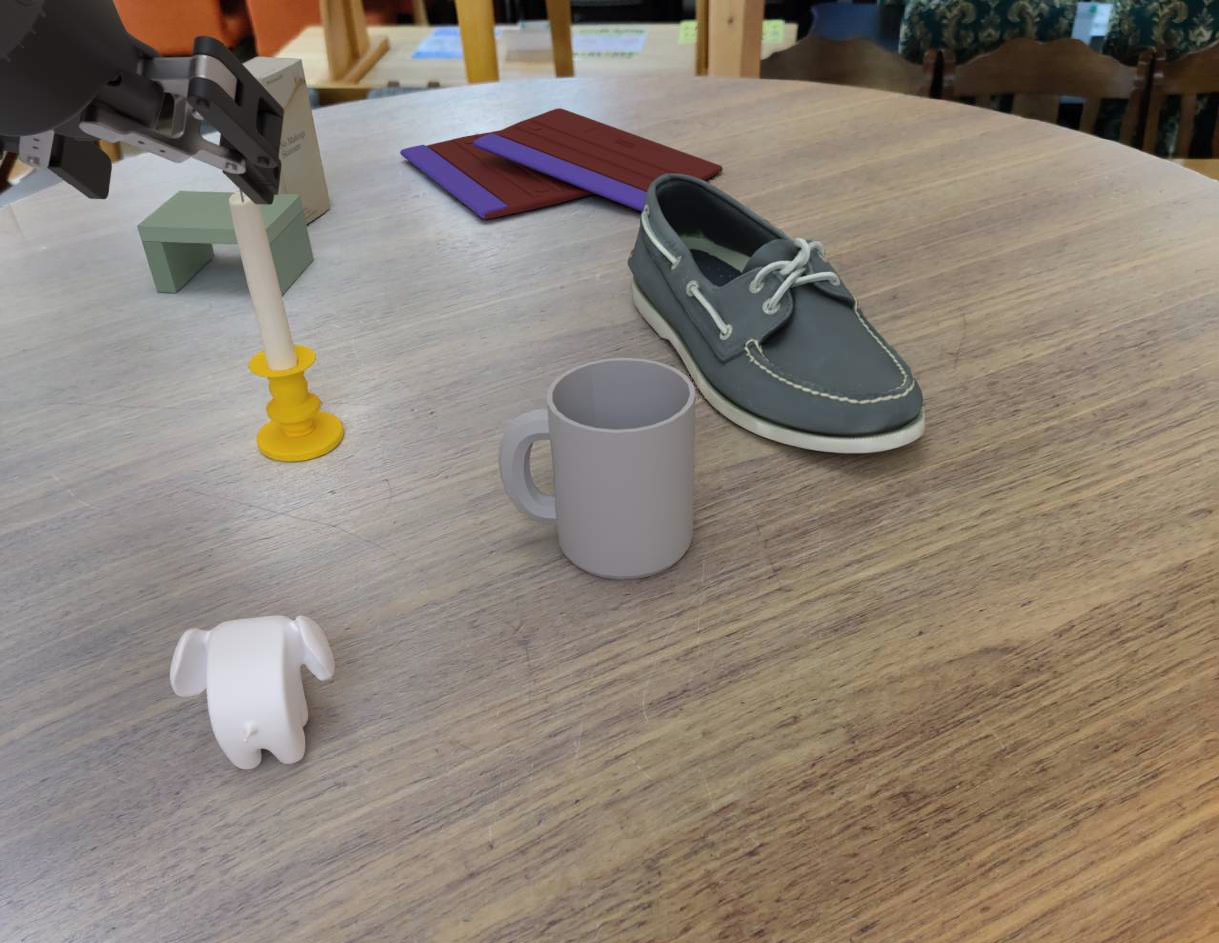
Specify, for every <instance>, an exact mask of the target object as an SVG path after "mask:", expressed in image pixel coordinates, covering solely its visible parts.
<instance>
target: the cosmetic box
mask: <svg viewBox="0 0 1219 943" xmlns="http://www.w3.org/2000/svg"><path fill="white" fill-rule="evenodd" d="M242 64H243V65H244V66H245V67H246V68H247V70H248V71H249V72H250V73H251V74H252V75H253V76H254V77H255V78H256V79H257V80H258V81H259V82H260V84H261V85H262V86H263V87H264V88H265V89H266V90H267V91H268V92H269V93H270V94H271V95H272V97H273V98H274V99H275V100H276V101H277V102H278V103H279V104H280V105H281V106H282V107H283V109H284V117H283V125H282V134H281V142H280V151H279V159H280V160H281V165H282V167H281V175H280V184H279V192H278V194H299V195H300V196H301V201H302V206H303V210H304V215H305V220H306V225H309V224H310V223H311V222H313V221H314V220H316V219H317V218H318V217H320V216H322V215H323V214H325V213H326V212H328V211H329V210H330V209H331V200H330V197H329V192H328V186H327V182H326V177H325V170H324V167H323V161H322V156H321V151H320V145H319V142H318V136H317V131H316V126H315V121H314V116H313V110H312V105H311V100H310V96H309V95H310V94H309V91H308V86H307V81H306V76H305V70H304V66H303V59H302V58H298V57H297V58H295V57H294V58H293V57H292V58H291V57H274V56H272V57H271V56H255V57H253V58H251V59H248V60H247V61H245V62H242Z"/></svg>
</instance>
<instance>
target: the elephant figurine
mask: <svg viewBox="0 0 1219 943" xmlns="http://www.w3.org/2000/svg"><path fill="white" fill-rule="evenodd" d="M335 662H336V661H335V658H334V654H333V651H332V648H331V646H330V643H329V641H328V639H327V636H326V634H325V633H324V631H323V629H322V628H321V626H319V624H318V623H317V622H315V621H314V620H313V619H311V618H310V617H308V616H305V615H298V616H297V615H296V617H295V619H292V618H289V617H288V616H286V615H281V614H275V615H265V616H256V617H249V618H238V619H232V620H227V621H226V620H225V621H222V622H220V623H218V625H216V626H215V627H213V628H210V629H207V630H205V629H199V628H196V627H195V628H194V627H191V628H188V629H187V630H186V631H184V632H183V634H182V635H181V636H180V638H179V640H178V642H177V644H176V647H175V650H174V652H173V655H172V659H171V662H170V667H169V682H170V687H171V688H172V691H173V692H174V693H175V695H176V696H178V697H181V698H188V697H195V696H198V695H200V694H201V693H203V692H204V691H205V690H206V702H207V711H208V717H209V722H210V726H211V729H212V732H213V735H214V737H215V738H214V739H215V740H216V742H217V744H218V746H219V747H220V749H221V750H222V752H223V753H224V754H225V756H226V757H227V759H228V760H229V762H231V764H233V765H234V766H235V767H236V768H238V769H240V770H247V771H248V770H253V769H255V768H257V767H258V766H259V765H260V764H261V762H262V758H263V756H262V749H264V750H267V751H269V752H270V753H271V754H273V755H274V756H275V757H276V759H277V760H278V761H279V762H280V763H281V764H284V765H292V764H295V763H297V762H300V761H301V760H302V759H303V758H304V756H305V753H306V736H305V731H304V727H305V726H306V725H307V723H308V721H309V710H308V709H309V708H308V704H307V699H306V696H305V695H306V694H305V691H304V685H303V679H302V670H301V667H302V665H305V667H306V669H308V671H309V672H310V673H311V674H313V675H314V676H315V677H316V678H317V679H318V680H319V681H322V682H323V681H326V680H330V679H332V678H333V676H334V675H335V669H336V663H335Z"/></svg>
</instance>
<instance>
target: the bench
mask: <svg viewBox="0 0 1219 943" xmlns="http://www.w3.org/2000/svg"><path fill="white" fill-rule="evenodd" d="M234 193H235V192H232V191H230V192H228V191H196V190H179V191H177V192H176V193H175V194H174V195H172V196H171V197H169V199H168V200H166V201H165V202H164V203H163V204H162V205H160V206H159V207H158V208H157V209H156V210H154V211H153V212H152V213H150V214H149V215H148V216H147V217H146V218H144V220H141V222H140V223H138V224H137V225H136V227H137V231H138V234H139V237H140V241H141V244H142V247H143V250H144V253H145V257H146V260H147V263H148V266H149V269H150V270H149V271H150V273H151V276H152V280H153V282H154V283H153V284H154V286H155V289H156V292H157V293H169V294H170V293H171V294H172V293H173V294H177V293H178V292H179V291H180V290H181V289H182V288H183V287H184V286H185V285H186V284H187V283H188V282H189V281H190V280H191V279H192V278H193V277H194V276H196V274H198V272H199V271H200V270H201V269H203V267H205V266H206V264H208V263H209V262H210V261H211V260H212V259H213V258H214V257H215V255H216V254H215V250H214V247H213V245H233V246H234V245H236V246H238V242H237V238H236V234H235V229H234V224H233V219H232V214H231V209H230V204H229V198H230V196H231V195H233V194H234ZM259 207H260V210H261V214H262V217H263V221H264V225H265V229H266V233H267V237H268V241H269V245H270V250H271V254H272V258H273V262H274V266H275V270H276V274H277V278H278V283H279V287H280V291H281V295H282V296H283V295H284V294H285V293H286V292H287V291H288V290H289V288H290V287H291V286H292V285H293V284H294V283H295V281H296V280H297V279H299V277H300V276H301V275H302V274H303V273H304V271H305V270H306V269H307V268H308V266H309V265H311V263H312V262H313V261H314V253H313V249H312V245H311V244H312V243H311V240H310V239H311V238H310V234H309V230H308V226H307V225H308V224H307V225H306V220H305V215H304V210H303V206H302V201H301V196H300V195H299V194H278V195H274V200H273V203H272V204H271V205H264V204H259Z"/></svg>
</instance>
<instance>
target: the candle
mask: <svg viewBox="0 0 1219 943" xmlns="http://www.w3.org/2000/svg"><path fill="white" fill-rule="evenodd" d="M233 193H234V194H233V195H231V196H230V198H229V204H230V209H231V214H232V219H233V224H234V229H235V234H236V238H237V242H238V245H237V246H238V249H239V254H240V258H241V262H242V266H243V270H244V274H245V275H244V276H245V279H246V283H247V287H248V290H249V295H250V299H251V304H252V308H253V311H254V315H255V320H256V323H257V328H258V332H259V336H260V340H261V344H262V348H263V350H261V351H259V352H257V353H256V354H254V355H253V356H252V357H250V359H249V361H248V369H249V371H250V372H251V373H252V374H254V375H255V376H259V377H262V378H266V379H267V381H268V390H269V392H270V394H271V397H272V399H270V400H269V401H267V404H266V406H265V412H266V415H267V417H268V418H269V419H270V420H269V421H268V422H266V423H265V424H264V425H263V426H262V427H260V428H259V431H258V432H257V435H256V445H257V448H258V449H259V452H260V453H261V454H263V455H264V456H265V457H267V458H270V459H272V460H274V461H281V462H302V461H308V460H312V459H316V458H320V457H321V456H324V455H326V454H328V453H330V452H331V451H332V450H334V449H335V448H336V447H338V445H339V444H340V443H341V442H342V441H343V438H344V435H345V431H344V425H343V422H342V421H341V419H340V418H338V417H337V416H335V415H334V414H332V413H329V412H327V411H322V410H321V408H322V404H321V399H320V397H319V396H318V395H317V394H315V393H314V392H310V391H309V385H308V384H309V383H308V380H307V378H306V377H305V371H306V370H308V369H309V368H310V367H312V366H313V365H314V364H315V362H316V360H317V355H316V352H315V351H314V349H312V348H310V347H308V346H306V345H302V344H294V341H293V336H292V332H291V328H290V324H289V320H288V316H287V312H286V308H285V303H284V300H283V295H281V291H280V287H279V283H278V278H277V274H276V270H275V266H274V262H273V258H272V254H271V250H270V245H269V241H268V237H267V233H266V229H265V225H264V221H263V217H262V214H261V210H260V207H259V204H255V203H254V202H253V201H252V200H251V199H250V198H249V197H248V196H246V195H245V194H244V193H243V192H242V191H241V190H240V189H239V191H236V192H233Z"/></svg>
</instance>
